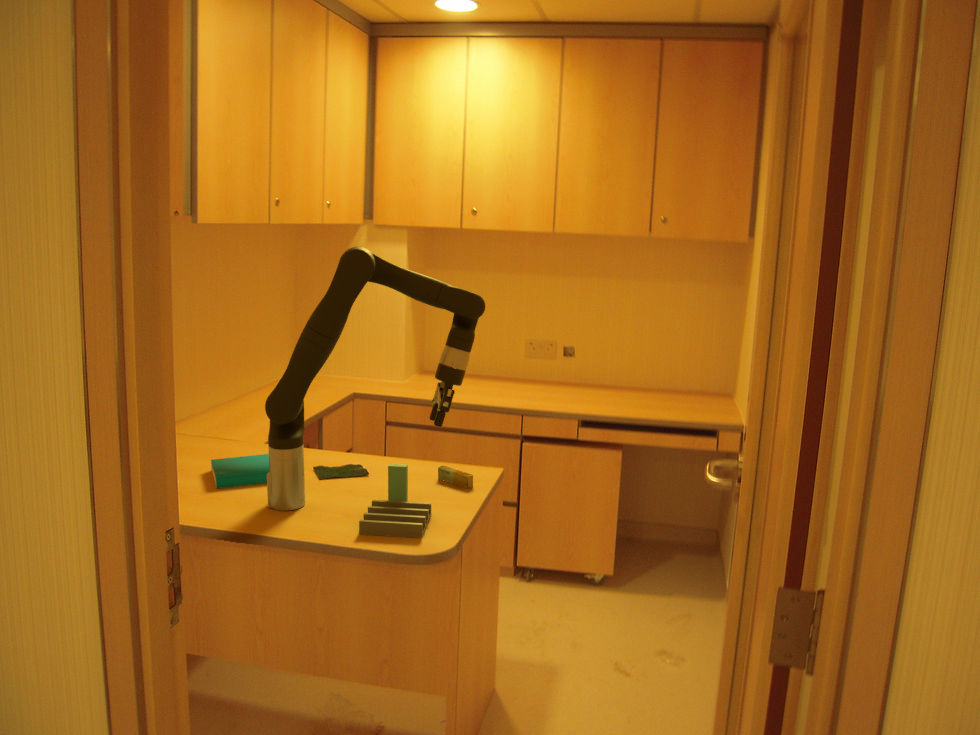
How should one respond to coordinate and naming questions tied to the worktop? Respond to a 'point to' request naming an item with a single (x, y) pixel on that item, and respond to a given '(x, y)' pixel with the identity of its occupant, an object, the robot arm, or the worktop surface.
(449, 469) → the medication box
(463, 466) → the worktop surface
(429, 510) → the rack
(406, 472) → the card
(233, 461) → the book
